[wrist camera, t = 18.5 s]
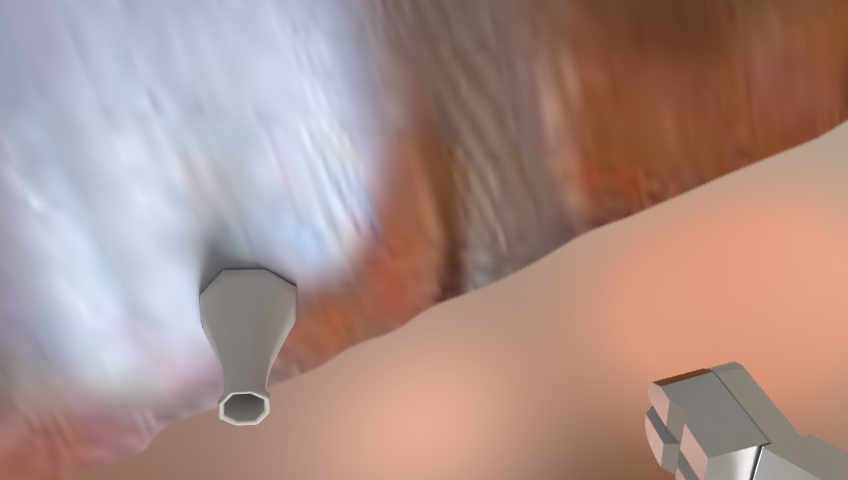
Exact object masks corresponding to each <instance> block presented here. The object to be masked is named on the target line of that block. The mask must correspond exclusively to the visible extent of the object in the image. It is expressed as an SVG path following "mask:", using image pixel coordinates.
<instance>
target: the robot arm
mask: <svg viewBox="0 0 848 480" xmlns="http://www.w3.org/2000/svg"><path fill="white" fill-rule="evenodd" d="M648 398H649V400H650V402H651V403H652V405H653V406H652V407H651V408H650V410H648V412H647V413H646V418H645V428H646V433H647V438H648V442H649V444H650V446H651V449H652V451H653V453H654V455H655V457H656V459H657V461H658V463H659V464H660V466H661V467H663V468H664V469H666V470H668V471H669V472H671V473H673V474H674V475H676V478H675V480H848V452H846V451H844V450H842V449H839V448H838V447H836V446H834V445H832V444H830V443H828V442H826V441H824V440H822V439H820V438H817V437H816V436H814V435H812V434H807V435H801V434H800V433H799V432H798V431H797V430H796V428H795V427H794V426H793V425H792V424H791V422H790V421H789V420H788V419H787V418H786V417H785V415H784V414H783V413H782V412H781V411H780V410H779V408H778V407H777V406H776V405H775V404H774V402H773V401H772V400H771V399H770V398H769V397H768V396H767V394H766V393H765V392H764V391H763V390H762V388H761V387H760V386H759V385H758V384H757V382H756V381H755V380H754V379H753V378H752V376H751V375H750V374H749V373H748V372H747V371H746V370H745V368H744V367H743V366H742V365H740V364H739V363H737V362H730V363H727V364H722V365H719V366H715V367H711V368H708V369H700V370H696V371H693V372H689V373H685V374H681V375H678V376H674V377H671V378H666V379H663V380H659V381H655V382H652V383H651V385H650V386H649V389H648Z"/></svg>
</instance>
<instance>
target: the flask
mask: <svg viewBox="0 0 848 480" xmlns="http://www.w3.org/2000/svg"><path fill="white" fill-rule="evenodd" d="M297 290H298V288H297V287H295V286H293V285H292V284H290V283H288V282H286V281H285V280H283V279H281V278H279V277H278V276H276V275H274V274H272V273H271V272H269V271H267V270H266V269H244V270H222V271H221V272H220V274H219V275H218V276H217V277H216V278H215V279H214V280H213V281H212V282H211V284H210V285H209V286H208V287H207V288H206V289H205V290H204V291H203V292H202V293H201V295H200V296H199V298H200V310H201V322H202V328H203V330H204V333H205V335H206V337H207V339H208V341H209V343H210V345H211V347H212V349H213V351H214V354H215V356H216V359H217V361H218V364H219V366H220V368H221V371H222V373H223V380H224V393H223V395H222V396H221V397H220V398H219V400H218V413H219V419H222V420H224V421H226V422H229V423H231V424H234V425H236V426H237V425H254V424H258V423H259V422H260V421H261V420H262V419H263V418H264V417H265V416H267V415H268V414H269V412H270V395H269V393H268V392H267V391H266V385H267V381H268V377H269V373H270V369H271V367H272V365H273V363H274V361H275V359H276V357H277V355H278V352H279V350H280V348H281V346H282V344H283V343H284V341H285V339H286V337H287V335H288V334H289V332H290V330H291V328H292V326H293V325H294V323H295V321H296V319H297Z"/></svg>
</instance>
